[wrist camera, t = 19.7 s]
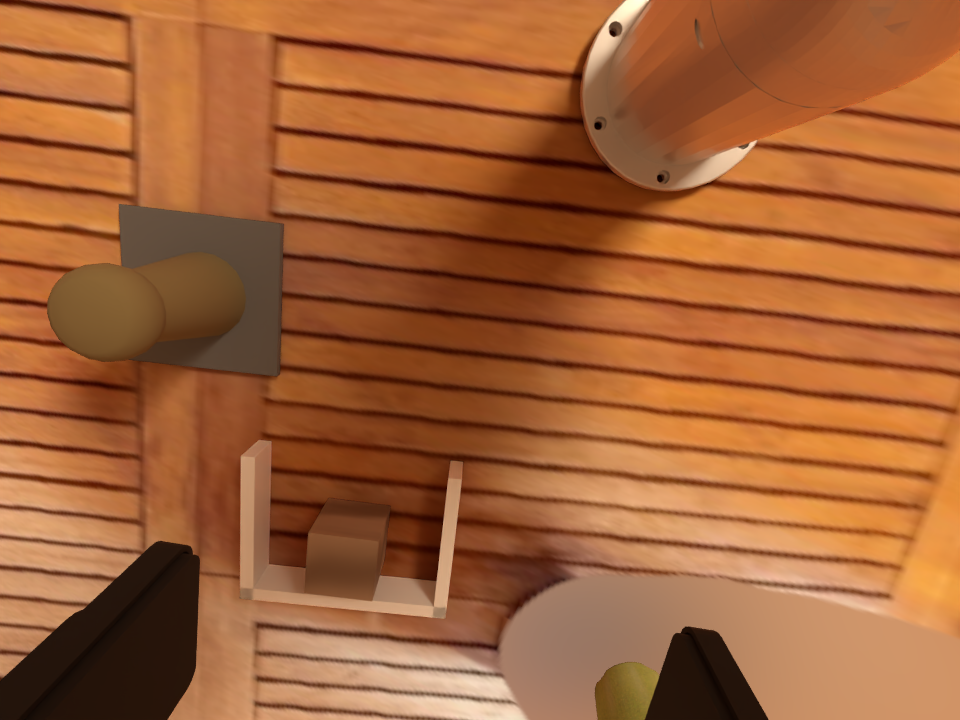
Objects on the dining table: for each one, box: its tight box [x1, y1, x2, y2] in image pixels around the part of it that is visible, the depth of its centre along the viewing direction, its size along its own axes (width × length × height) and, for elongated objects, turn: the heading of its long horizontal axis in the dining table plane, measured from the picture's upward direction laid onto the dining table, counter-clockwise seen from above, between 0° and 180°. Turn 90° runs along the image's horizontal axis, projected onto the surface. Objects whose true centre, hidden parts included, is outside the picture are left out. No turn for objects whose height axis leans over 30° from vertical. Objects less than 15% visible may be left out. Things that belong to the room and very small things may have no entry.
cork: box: [47, 252, 246, 362], centre depth 30 cm, size 6×6×11 cm
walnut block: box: [304, 498, 391, 601], centre depth 38 cm, size 5×5×5 cm
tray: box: [240, 440, 463, 619], centre depth 39 cm, size 12×16×3 cm
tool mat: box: [119, 204, 284, 376], centre depth 36 cm, size 11×11×1 cm
